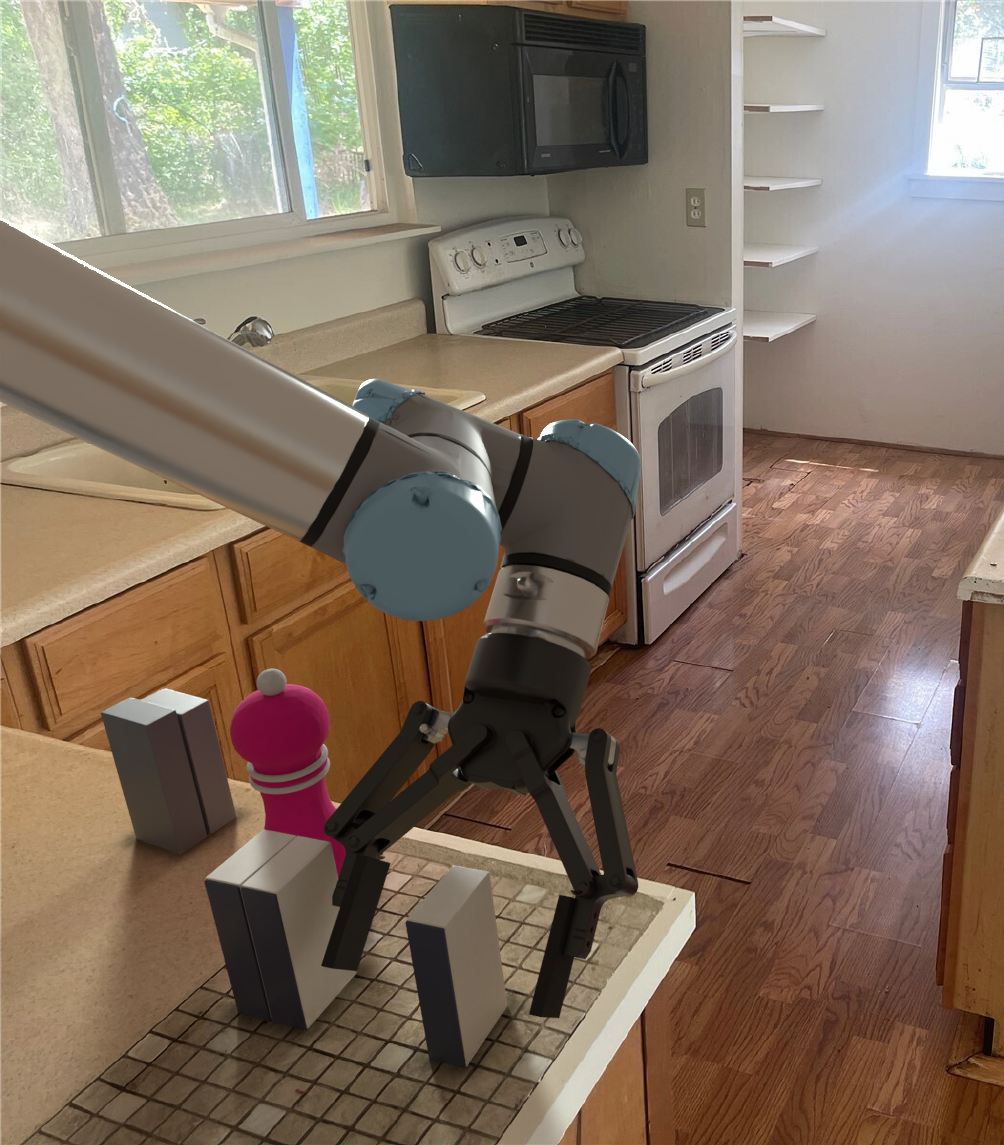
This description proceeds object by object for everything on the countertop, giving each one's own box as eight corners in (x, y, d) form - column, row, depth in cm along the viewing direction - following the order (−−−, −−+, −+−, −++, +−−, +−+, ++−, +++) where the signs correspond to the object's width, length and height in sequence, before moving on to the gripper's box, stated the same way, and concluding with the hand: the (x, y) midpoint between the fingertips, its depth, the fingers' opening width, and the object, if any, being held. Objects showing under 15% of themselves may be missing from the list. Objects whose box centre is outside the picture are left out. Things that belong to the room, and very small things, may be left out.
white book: (429, 1066, 64) (404, 920, 60) (473, 1003, 69) (453, 864, 65) (466, 1075, 64) (443, 928, 59) (508, 1011, 68) (490, 871, 64)
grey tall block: (239, 1020, 68) (202, 879, 64) (293, 963, 72) (262, 828, 68) (307, 1037, 66) (275, 894, 62) (358, 978, 71) (331, 841, 67)
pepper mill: (375, 939, 74) (328, 686, 67) (262, 965, 72) (200, 706, 64) (373, 876, 81) (329, 638, 73) (269, 898, 78) (213, 655, 71)
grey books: (182, 860, 83) (146, 725, 78) (137, 844, 85) (99, 711, 80) (238, 822, 87) (207, 693, 83) (194, 808, 89) (162, 680, 84)
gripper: (341, 605, 70) (219, 945, 62) (702, 652, 63) (615, 1038, 56) (399, 644, 76) (296, 954, 69) (732, 689, 70) (657, 1038, 62)
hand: (438, 992), depth 62 cm, fingers open, 13 cm apart
